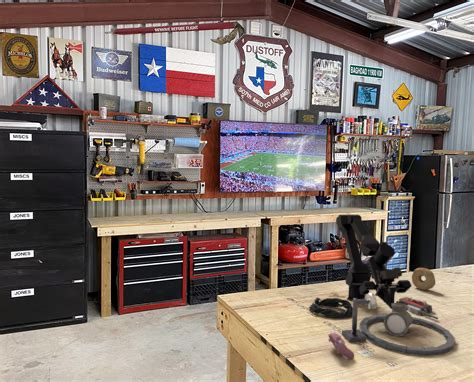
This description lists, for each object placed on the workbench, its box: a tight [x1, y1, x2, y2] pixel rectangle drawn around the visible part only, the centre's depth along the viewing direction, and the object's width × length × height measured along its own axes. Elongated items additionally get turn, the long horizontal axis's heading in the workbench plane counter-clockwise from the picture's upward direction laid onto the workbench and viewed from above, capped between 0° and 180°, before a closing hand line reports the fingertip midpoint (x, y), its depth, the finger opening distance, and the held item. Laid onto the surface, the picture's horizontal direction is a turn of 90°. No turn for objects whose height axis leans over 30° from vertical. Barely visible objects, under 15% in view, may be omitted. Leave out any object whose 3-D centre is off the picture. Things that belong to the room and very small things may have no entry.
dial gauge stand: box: [341, 292, 378, 343], centre depth 140 cm, size 9×6×15 cm, turn 100°
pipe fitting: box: [383, 302, 413, 337], centre depth 147 cm, size 12×8×10 cm
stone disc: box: [411, 267, 437, 291], centre depth 195 cm, size 10×4×10 cm, turn 46°
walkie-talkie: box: [395, 296, 439, 320], centre depth 167 cm, size 9×4×20 cm
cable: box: [308, 297, 353, 319], centre depth 164 cm, size 17×14×4 cm
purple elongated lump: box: [327, 331, 355, 360], centre depth 130 cm, size 10×5×7 cm, turn 5°
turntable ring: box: [358, 313, 456, 356], centre depth 144 cm, size 30×30×2 cm
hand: (392, 308), depth 152 cm, fingers closed
